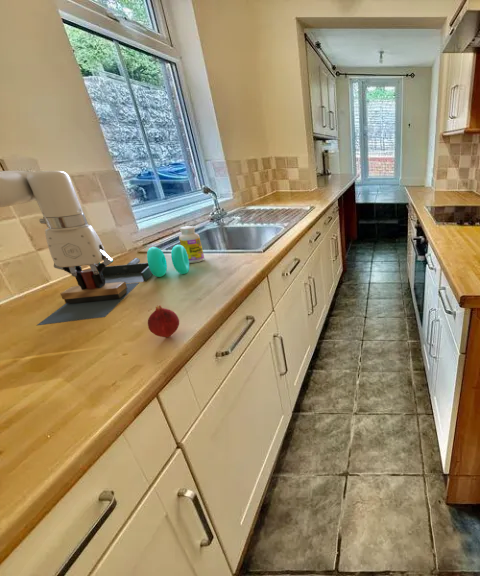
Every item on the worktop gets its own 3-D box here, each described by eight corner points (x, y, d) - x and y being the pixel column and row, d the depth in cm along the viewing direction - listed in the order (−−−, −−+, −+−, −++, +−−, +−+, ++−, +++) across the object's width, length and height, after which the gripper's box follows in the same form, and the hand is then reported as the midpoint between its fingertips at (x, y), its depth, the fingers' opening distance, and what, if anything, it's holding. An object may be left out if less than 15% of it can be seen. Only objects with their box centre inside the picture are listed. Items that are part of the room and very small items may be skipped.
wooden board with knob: (64, 304, 87) (51, 276, 83) (75, 297, 91) (63, 269, 88) (120, 298, 90) (109, 271, 86) (128, 291, 94) (118, 265, 91)
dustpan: (145, 282, 102) (142, 272, 101) (81, 288, 98) (77, 278, 96) (165, 262, 120) (162, 253, 119) (111, 266, 115) (108, 258, 114)
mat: (36, 326, 77) (36, 325, 77) (87, 288, 98) (86, 287, 97) (105, 317, 81) (105, 316, 81) (140, 283, 101) (139, 282, 101)
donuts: (187, 277, 106) (179, 248, 102) (152, 281, 102) (142, 252, 98) (191, 267, 114) (184, 240, 110) (159, 271, 111) (150, 243, 107)
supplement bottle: (191, 264, 117) (182, 230, 112) (181, 261, 121) (172, 228, 115) (208, 259, 123) (200, 226, 117) (198, 256, 126) (190, 224, 121)
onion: (188, 334, 74) (179, 303, 70) (161, 346, 69) (150, 314, 66) (174, 327, 76) (165, 297, 73) (148, 339, 72) (136, 307, 68)
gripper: (16, 227, 76) (49, 296, 84) (97, 222, 81) (122, 288, 88) (37, 221, 83) (66, 285, 90) (111, 217, 87) (133, 278, 95)
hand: (93, 286), depth 89 cm, fingers closed on wooden board with knob, 2 cm apart
